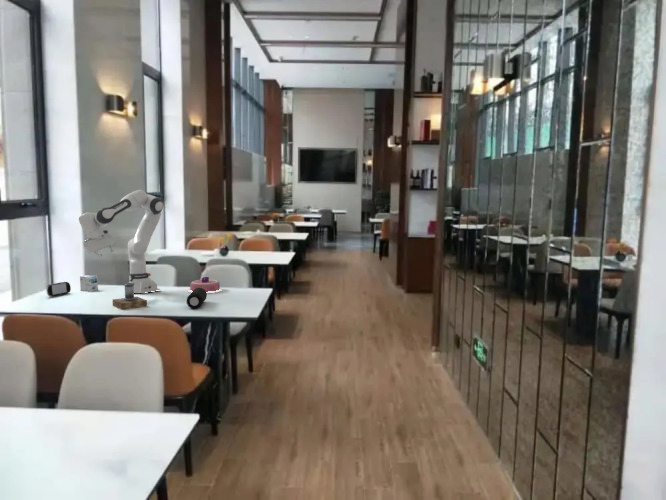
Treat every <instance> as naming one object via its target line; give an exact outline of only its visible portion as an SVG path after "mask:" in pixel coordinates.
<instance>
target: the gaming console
mask: <svg viewBox="0 0 666 500" xmlns="http://www.w3.org/2000/svg"><path fill="white" fill-rule="evenodd" d="M71 289H72V288H71V284H70V283H69V282H68V281H62V282H55V283H50V284H48V285H47V286H46V289H45V290H46V295H47V296H48V297H49V298H54V297H60V296H64V295H65V296H66V295H68V294H69V293H70V292H71Z"/></svg>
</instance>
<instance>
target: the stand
mask: <svg viewBox="0 0 666 500" xmlns="http://www.w3.org/2000/svg"><path fill="white" fill-rule="evenodd" d="M134 297H135V299H134V300H124V298H125V297H123V298H114V299H112V306H113V307H115V308H117V309H120V310H130V309H138V308H146V306H147V307H148V300H147V299H144V298H141V297H140V296H134Z"/></svg>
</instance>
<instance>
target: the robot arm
mask: <svg viewBox="0 0 666 500" xmlns="http://www.w3.org/2000/svg"><path fill="white" fill-rule="evenodd" d="M138 208H142V209H144V210H145V213H144V215H143V217H142V219H141V220H140V223H139V224H138V227H137V230H136V232H135V235H134V237H133V238H130V240H128V242H127V252H128V261H129V274H128V278H129V283H134V293H145V292H151V291H156V290H161V288H158V284H157V282H156V281H155V280H154V279H152V278H150V277H151V276H152V274H151V273H150V272H149V273H148V272H147V263H146V258H145V257H146V255H145V253H146V252H147V250H148V246H149V245H150V243H151V242H150V241H151V239H152V236H153V234H154V232H155V230H156V228H157V226H158V224H159V222H160V219H161V216H162V213H161V212H162V210H163V209H164V201H163V200H162V199H161V198H160V197H157V196H155V195H153V194H148V193H146V191H145V190H144V189H143V190H142V189H137V190H134V191H132V192H130V193H128V194H126V195H125V196H124V197H122V198H121V199H120V200H119V202H116V204H113V205H111V206H108V207H102V208H100V209H98V211H97V212H89V211H87V212H84V213H83V214H81V215H80V216H79V218H78V223H79V224H80V226H81V229H82V230H83V231H84V233H85V235H86V236H87V238H88V239H85V240H84V241H83V245H84V247H85V249H86V251H87V253H88V254H93V253H94V254H95V256H97V257H98V258H102V257H103V255H102V253H99V251H100V250H103V249H105V248H107V247H108V248H109V250H108V251H109V253H113V252H114V249H113V245H115V243H116V239H115V238H114V236H113V235H112V234H111V233H110V231H109V229H103V228H105V227H106V226H107V225H109V224H110V223H111V222H112V221H113V220H114V219H115V217H116V216H118V215H119V214H121V213H123V212H128V213H130V212H133V211H135V210H136V209H138Z"/></svg>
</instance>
